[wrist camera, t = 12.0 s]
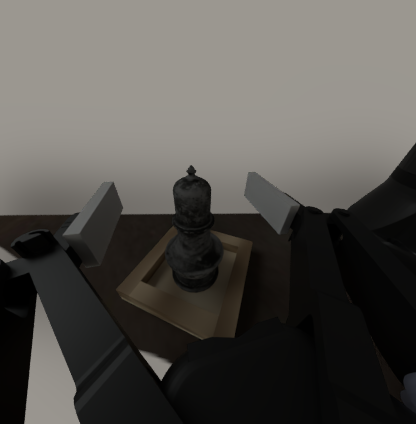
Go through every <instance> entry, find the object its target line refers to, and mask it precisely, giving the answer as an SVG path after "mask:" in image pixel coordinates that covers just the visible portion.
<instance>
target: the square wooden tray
mask: <svg viewBox="0 0 416 424" xmlns="http://www.w3.org/2000/svg"><path fill="white" fill-rule="evenodd" d="M210 232H211V233H213V234H214V235H216V236H217V237H218V238H219V239H220V241H221V242H222V245H223V249H224V254H223V258H222V260H221V262H220V264H219V265H218V270H219V273H218V277H217V279H216V281H215V283H214V284H213V285H212V286H211V287H210V288H208V289H206V290H204V291H201V292H197V293H195V292H187V291H184V290H182V289H181V288H179V287H178V286H177V284H176V283H175V282H174V279H173V276H172V268H171V267H170V266H169V265H168V264H167V261H166V258H165V249H166V246H167V244H168V242H169V241H170V240H171V239H172V238H173V237H174V236H175V235H177V234H178V233H177V229H176V228H175V227H174V226H173V227H172V228H171V229H170V230H169V231H168V232H167V233H166V234H165V236H164V237H163V238H162V239H161V240H160V241H159V242H158V243H157V244H156V246H155V247H154V248H153V249H152V250H151V251H150V252H149V253H148V254H147V256H146V257H145V258H144V259H143V260H142V261H141V262H140V263H139V265H138V266H137V267H136V268H135V269H134V270H133V271H132V272H131V273H130V275H129V276H128V277H127V278H126V279H125V280H124V281H123V282H122V283H121V285H120V286H119V287H118V288H117V289H116V290H117V292H118V293H119V295H120V296H121V298H122V299H123V300H125V301H127V302H129V303H131V304H133V305H135V306H137V307H139V308H141V309H143V310H145V311H147V312H149V313H151V314H153V315H155V316H157V317H159V318H160V319H162V320H164V321H166V322H168V323H170V324H172V325H174V326H176V327H178V328H180V329H182V330H184V331H186V332H188V333H190V334H192V335H194V336H195V337H197V338H199V339H201V340H203V339H206V338H209V337H231V338H234V336H235V331H236V326H237V320H238V315H239V310H240V305H241V300H242V294H243V289H244V284H245V279H246V274H247V268H248V263H249V258H250V253H251V248H252V242H251V241H248V240H244V239H241V238H237V237H233V236H230V235H226V234H223V233H219V232H216V231H212V230H210Z"/></svg>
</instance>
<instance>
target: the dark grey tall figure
mask: <svg viewBox="0 0 416 424" xmlns="http://www.w3.org/2000/svg"><path fill="white" fill-rule="evenodd" d="M187 173H188V176H186V177H183V178H181V179H180V180H178V181H177V182H176V183H175V185H174V187H173V195H174V203H175V211H176V214H175V215H174V216H173V218H172V224H173V226H174V227H175V228H176V229H177V233H178V234H177V235H175V236H174V237H173V238H172V239H171V240H170V241H169V242H168V244H167V246H166V249H165V258H166V261H167V264H168V265H169V266H170V267H171V268H172V276H173V279H174V282H175V283H176V284H177V286H178V287H179V288H181V289H182V290H184V291H187V292H195V293H197V292H201V291H204V290H206V289H208V288H210V287H211V286H212V285H213V284H214V283H215V281H216V279H217V277H218V273H219V270H218V265H219V264H220V262H221V260H222V258H223V254H224V249H223V245H222V242H221V241H220V239H219V238H218V237H217V236H216V235H214V234H213V233H211V232H210V228H211V227H212V226H213V224H214V216H213V214H212V213H211V212H210V204H211V187H210V185H209V183H208V182H207V181H206V180H204V179H202V178H200V177H198V176H196V175H195V173H196V170H195V169H194V167H193V166H192V165H191V166H190V167H189V168H188V170H187Z"/></svg>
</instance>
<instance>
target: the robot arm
mask: <svg viewBox="0 0 416 424" xmlns="http://www.w3.org/2000/svg"><path fill="white" fill-rule="evenodd" d="M244 196H245V197H246V198H247V199H248V200H249V201H250V203H252V205H253V206H254V207H255V208H256V209H257V210H258V211H259V213H260V214H261V215H262V216H263V217H264V218H265V219H266V220H267V221H268V223H269V224H270V225H271V226H272V227H273V228H274V229H275V230H276V232H277V233H278V234H279V235H280V234H286V233H288V231H289V229H290V228H291V229H292V230H293V232H292V234H291V236H290V238H289V240H288V241H290V240H291V268H290V300H289V316H288V319H287V322H286V324H283V323H281V322H280V320H279V319H278V317H275V318H272V319H269V320H265V321H262V322H259V323H257V324H255V325H254V326H253V327H251V328H250V329H249V330H248V331H246V332H245V333H244V334H242V335H241V336H240V337H237V338H231V337H209V338H206V339H203V340H199V341H196V342H193V343H189V344H187V348H188V350H187V351H186V352H184V353H183V354H182V355H181V356H180V357H179V358H177V359H176V361H175V362H174V363H173V364H172V365H171V366H170V368H169V369H168V371H167V372H166V374H165V375H164V377H163V379H162V381H161V380H160V379H159V377H158V376H157V375H156V373H155V372H154V371H153V369H152V368H151V366H150V365H149V364H148V363H147V361H146V360H145V359H144V357H143V356H142V355H141V353H140V352H139V350H138V349H137V348H136V346H135V345H134V343H133V342H132V341H131V339H130V338H129V336H128V335H127V334H126V332H125V331H124V329H123V328H122V327H121V325H120V324H119V323H118V321H117V320H116V318H115V317H114V316H113V314H112V313H111V311H110V310H109V309H108V307H107V306H106V304H105V303H104V302H103V300H102V299H101V297H100V296H99V295H98V293H97V292H96V290H95V289H94V288H93V286H92V285H91V283H90V282H89V281H88V279H87V278H86V277H85V275H84V274H83V272H82V271H81V270H80V268H79V267H80V265H81V263H82V262H83V264H84V265H85V266H86V268H88V267H93V266H99V265H101V262H102V260H103V257H104V255H105V252H106V250H107V247H108V245H109V242H110V240H111V237H112V234H113V232H114V229H115V227H116V224H117V222H118V219H119V217H120V214H121V212H122V209H123V206H122V204H121V201H120V198H119V196H118V193H117V190H116V188H115V185H114V182H104V183H103V184H102V185H101V186H100V188H99V189H98V190H97V192H96V193H95V194H94V195H93V197H92V198H91V199H90V201H89V202H88V203H87V204H86V206H85V207H84V208H83V209H82V211H81V212H80V213H75V214H73V215H72V216H70V217H69V218H68V219H67V220H66V221H65V224H63V225H62V226H61V228H60V229H59V230H58V231H57V232H56V233H55V234H54V236H53V235H52V234H51V232H50V231H49V230H47V229H39V230H34V231H31V232H28V233H26V234H24V235H21V236H20V237H18V238H17V239H15V240H14V241H13V242H12V243H11V247H12V248H13V249H14V250H15V251H16V252H17V253H18V254H19V255H20V256H22V257H23V258H20V259H17V260H14V261H10V262H7V263H5V262H3V261H2V260H1V259H0V424H24V421H25V410H26V401H27V400H26V399H27V390H28V380H29V370H30V359H31V349H32V339H33V328H34V319H35V308H36V298H37V293H38V295H39V297H40V299H41V302H42V304H43V307H44V309H45V312H46V314H47V317H48V319H49V321H50V324H51V326H52V329H53V331H54V334H55V336H56V339H57V341H58V343H59V346H60V348H61V350H62V353H63V355H64V358H65V360H66V363H67V365H68V368H69V370H70V373H71V375H72V377H73V380H74V382H75V385H76V391H77V392H76V394H75V396H74V406H75V410H76V414H77V416H78V419H79V422H80V424H416V143H415V145H414V146H413V147H412V148H411V150H410V151H409V152H408V154H407V155H406V156H405V157H404V159H403V160H402V161H401V162H400V164H399V165H398V166H397V167H396V169H395V170H394V171H393V173H392V174H391V175H390V176H389V178H388V179H387V180H386V181H385V182H384V183H382V184H381V185H380V186H378V187H377V188H375V189H374V190H373V191H371V192H370V193H368V194H367V195H365V196H364V197H363V198H361V199H360V200H359V201H358V202H356V203H355V204H353V205H352V206H350V207H349V208H348V210H345V209H339V208H336V209H334V210H333V211H332V212H331V214H326V213H323V212H322V211H321V210H319V209H318V208H315V207H310V206H308V207H305V206H303V205H302V204H300V203H299V202H298V201H296V200H294V199H293V198H292V197H291V196H289V195H288V194H286V193H284V192H282V191H280V190H279V189H278V188H276V187H275V186H273V185H272V184H271V183H269V182H268V181H266V180H265V179H264V178H262V177H261V176H260V175H258V174H257V173H256V172H249V173H248V178H247V183H246V189H245V194H244ZM342 234H343V239H342V241H341V239H340V237H341V235H342ZM344 287H345V288H344ZM345 289H346V291H347V293H348V294H349V296H350V298H351V300H352V302H353V304H352V303H349V301H348V299H347V295H346V292H345ZM369 333H370V334H369ZM370 335H371V337H372V339H373V340H374V342H375V344H376V346H377V347H378V349H379V351H380V352H381V354H382V356H383V357H384V359H385V360H386V362H387V363H388V365H389V366H390V368H391V369H392V371H393V372H394V374H395V375H396V377H397V378H398V379H399V381H400V382H401V383H402V385H403V386H404V387H405V390H402V391H401V392H400V397H401V399H402V401H403V403H404V404H405V405H404V404H402V403H401V402H400V401H398V400H397V399H395V398H394V397H393V396H391V395H390V394H389V391H388V388H387V385H386V382H385V379H384V376H383V373H382V370H381V367H380V364H379V361H378V358H377V355H376V352H375V349H374V346H373V343H372V340H371V337H370Z"/></svg>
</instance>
